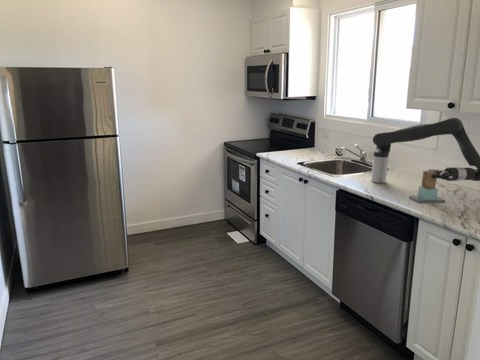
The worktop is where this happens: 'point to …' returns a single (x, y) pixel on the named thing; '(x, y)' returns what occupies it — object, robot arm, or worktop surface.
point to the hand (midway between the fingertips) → (427, 174)
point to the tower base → (419, 200)
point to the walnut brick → (428, 180)
